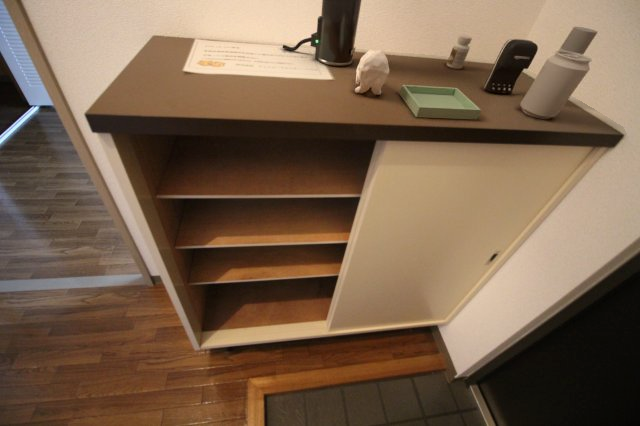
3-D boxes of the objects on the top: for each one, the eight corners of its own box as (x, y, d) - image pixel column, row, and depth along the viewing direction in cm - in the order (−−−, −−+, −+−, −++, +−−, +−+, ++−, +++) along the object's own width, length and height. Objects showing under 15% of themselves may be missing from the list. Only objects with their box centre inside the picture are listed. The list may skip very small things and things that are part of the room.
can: (515, 102, 67) (549, 46, 59) (549, 110, 66) (589, 53, 57) (520, 115, 62) (558, 55, 53) (558, 123, 60) (602, 63, 52)
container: (553, 105, 68) (603, 33, 58) (533, 101, 69) (578, 30, 58) (546, 97, 72) (591, 28, 61) (527, 94, 72) (569, 25, 61)
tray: (416, 117, 56) (419, 107, 55) (399, 94, 64) (401, 84, 63) (476, 119, 58) (481, 109, 57) (452, 96, 66) (456, 87, 64)
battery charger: (488, 94, 69) (514, 41, 61) (481, 88, 72) (506, 36, 64) (514, 96, 70) (544, 44, 62) (506, 90, 73) (534, 39, 65)
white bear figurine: (362, 51, 54) (355, 41, 64) (355, 97, 60) (349, 81, 69) (395, 54, 55) (383, 44, 64) (384, 99, 60) (374, 83, 70)
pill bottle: (445, 63, 85) (456, 33, 79) (459, 65, 85) (472, 35, 79) (447, 67, 82) (459, 37, 76) (462, 70, 81) (475, 39, 76)
